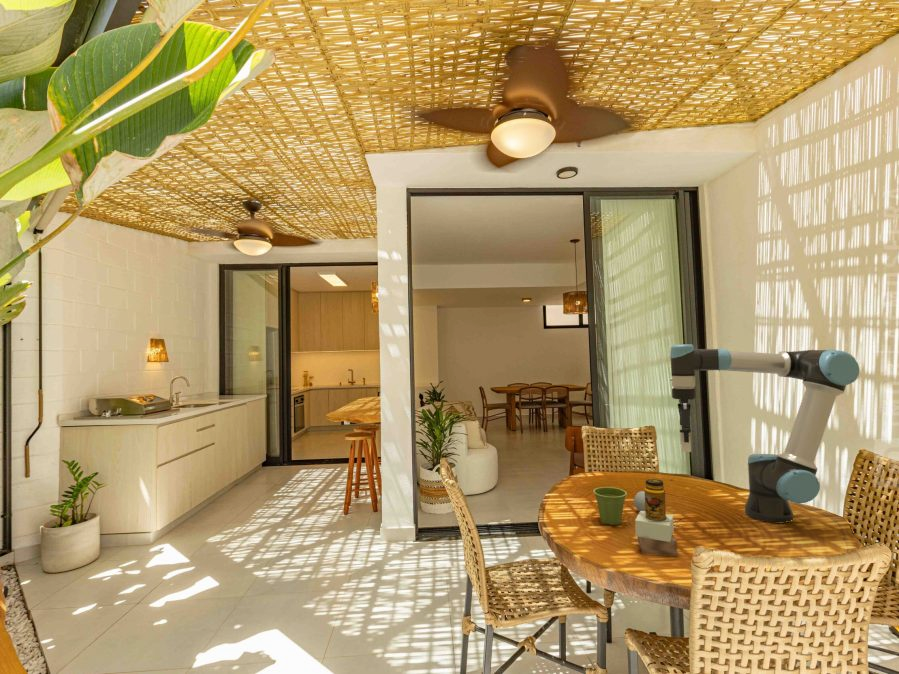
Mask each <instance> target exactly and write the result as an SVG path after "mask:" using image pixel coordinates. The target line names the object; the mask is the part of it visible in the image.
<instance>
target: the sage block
mask: <svg viewBox="0 0 899 674" xmlns="http://www.w3.org/2000/svg"><path fill="white" fill-rule="evenodd" d="M639 512H645V511H639ZM639 512H638V515H637V516H636V517H635V521H634V522H635V526H634V527H635V529H634V530H635V537H637V536H638V537H644V538H649V539H655V540H661V541H667V542H670V541H671V538H672V535H673V536H674V532H675V531H674V530H675V528H674V515H672V514H666V517H668V518H669V519H670V520H672V521H663V522H655V521H654V522H653V521H651V522H650V521H647V520H646V519H645V518H644V517H643V516H642V515H641V514H640V513H639ZM638 537H637V538H638Z"/></svg>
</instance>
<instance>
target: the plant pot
mask: <svg viewBox="0 0 899 674" xmlns="http://www.w3.org/2000/svg"><path fill="white" fill-rule="evenodd" d="M592 492H593V494H594V496H595V499H596V502H597V503H596V504H597V508H598V513H599V517H600V519H599V520H600V522H601V523H602V524H605V525H610V526H618V525H621V523H622V519H623V511H624V504H625V500H626V496H627V495H628V492H627V491H625V490H624V489H621V488H618V487H611V486H602V487H601V486H600V487H596V488H594V489H593V491H592Z"/></svg>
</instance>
